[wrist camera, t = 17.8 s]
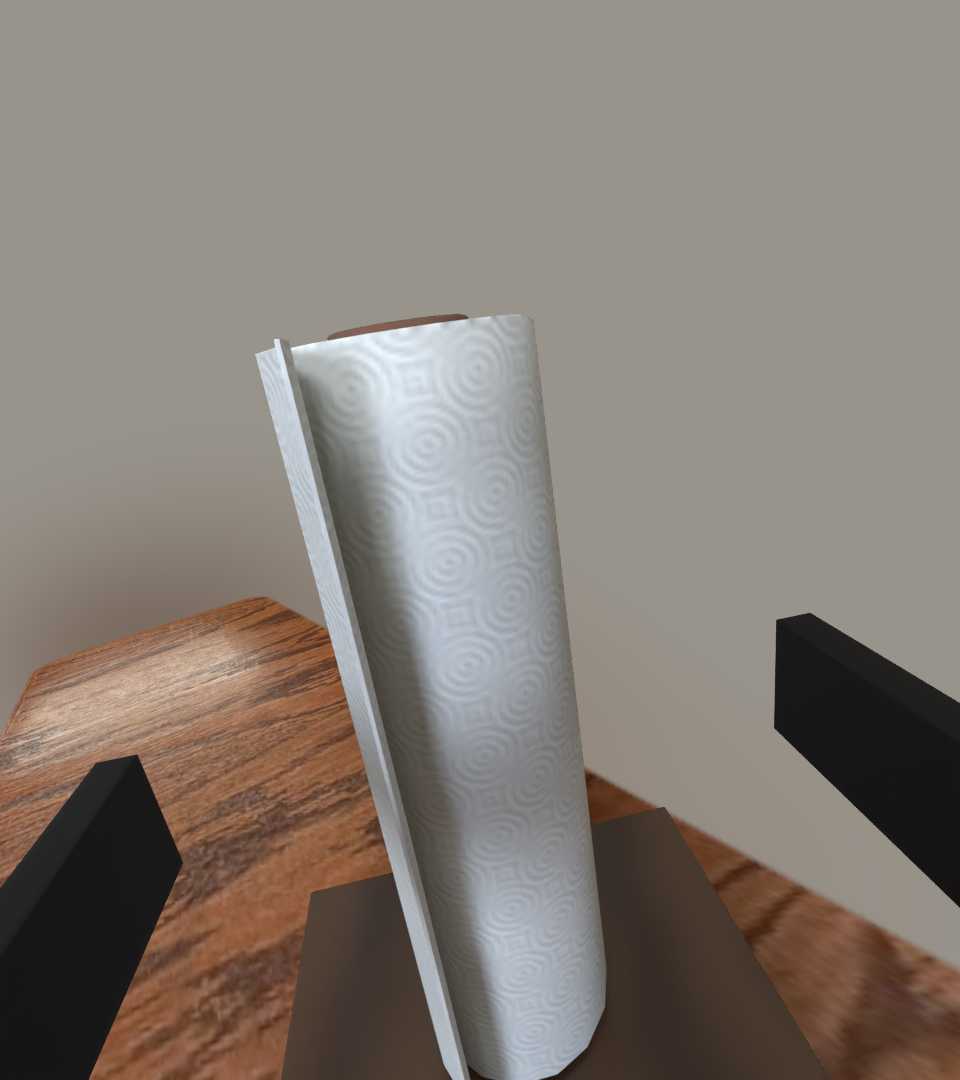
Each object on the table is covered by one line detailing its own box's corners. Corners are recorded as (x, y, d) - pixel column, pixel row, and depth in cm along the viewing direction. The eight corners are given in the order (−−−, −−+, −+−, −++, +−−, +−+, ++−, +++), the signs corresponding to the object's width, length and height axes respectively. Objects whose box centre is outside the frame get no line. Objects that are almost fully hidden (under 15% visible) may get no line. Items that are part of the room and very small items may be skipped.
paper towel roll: (517, 871, 23) (424, 331, 16) (644, 975, 19) (589, 293, 12) (369, 1015, 19) (163, 362, 12) (490, 1193, 14) (269, 321, 8)
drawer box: (672, 931, 28) (664, 806, 25) (862, 1322, 16) (883, 1164, 14) (352, 1016, 26) (310, 891, 24) (319, 1506, 15) (232, 1368, 12)
